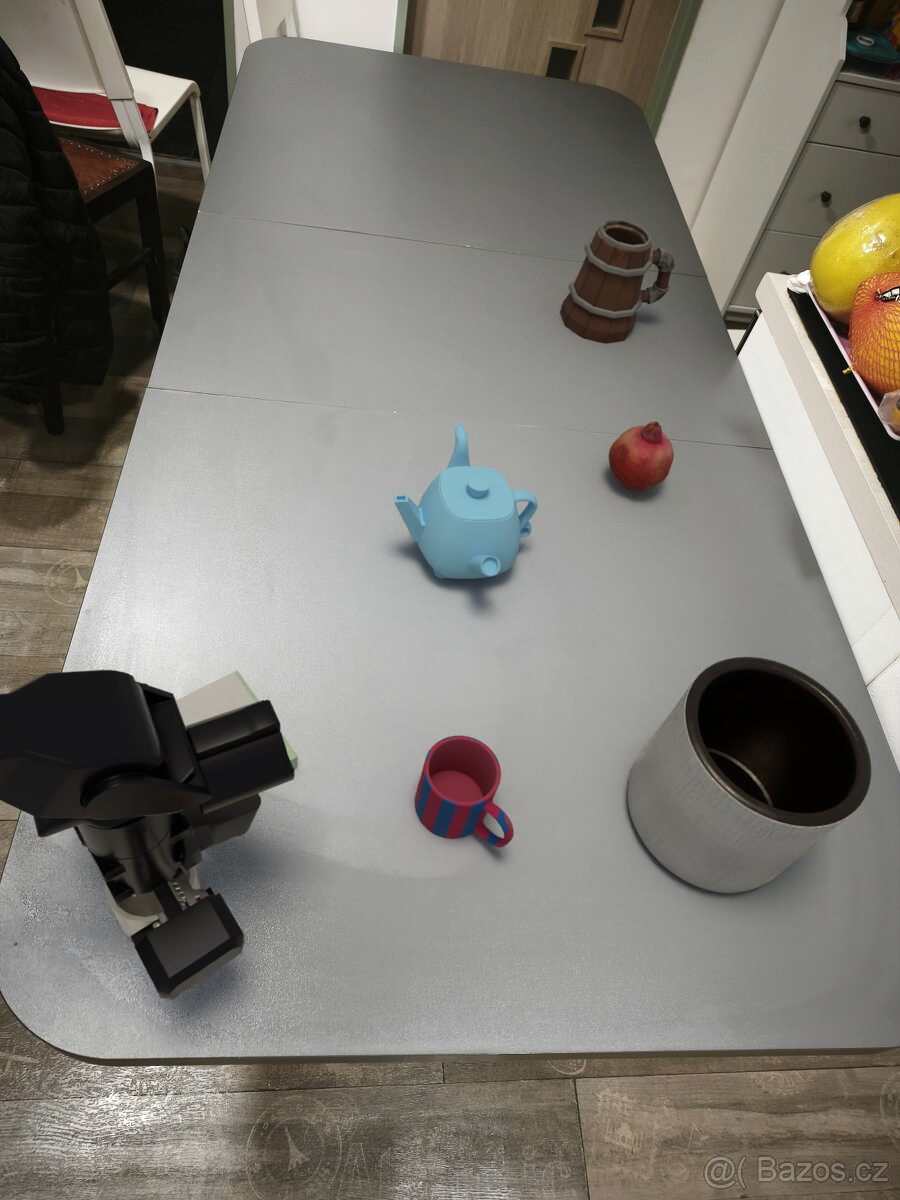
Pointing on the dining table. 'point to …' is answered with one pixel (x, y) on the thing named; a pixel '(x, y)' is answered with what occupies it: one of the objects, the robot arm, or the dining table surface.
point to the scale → (221, 703)
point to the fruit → (641, 457)
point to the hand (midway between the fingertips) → (158, 898)
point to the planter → (747, 775)
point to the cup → (461, 790)
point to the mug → (614, 282)
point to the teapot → (468, 518)
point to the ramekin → (144, 905)
